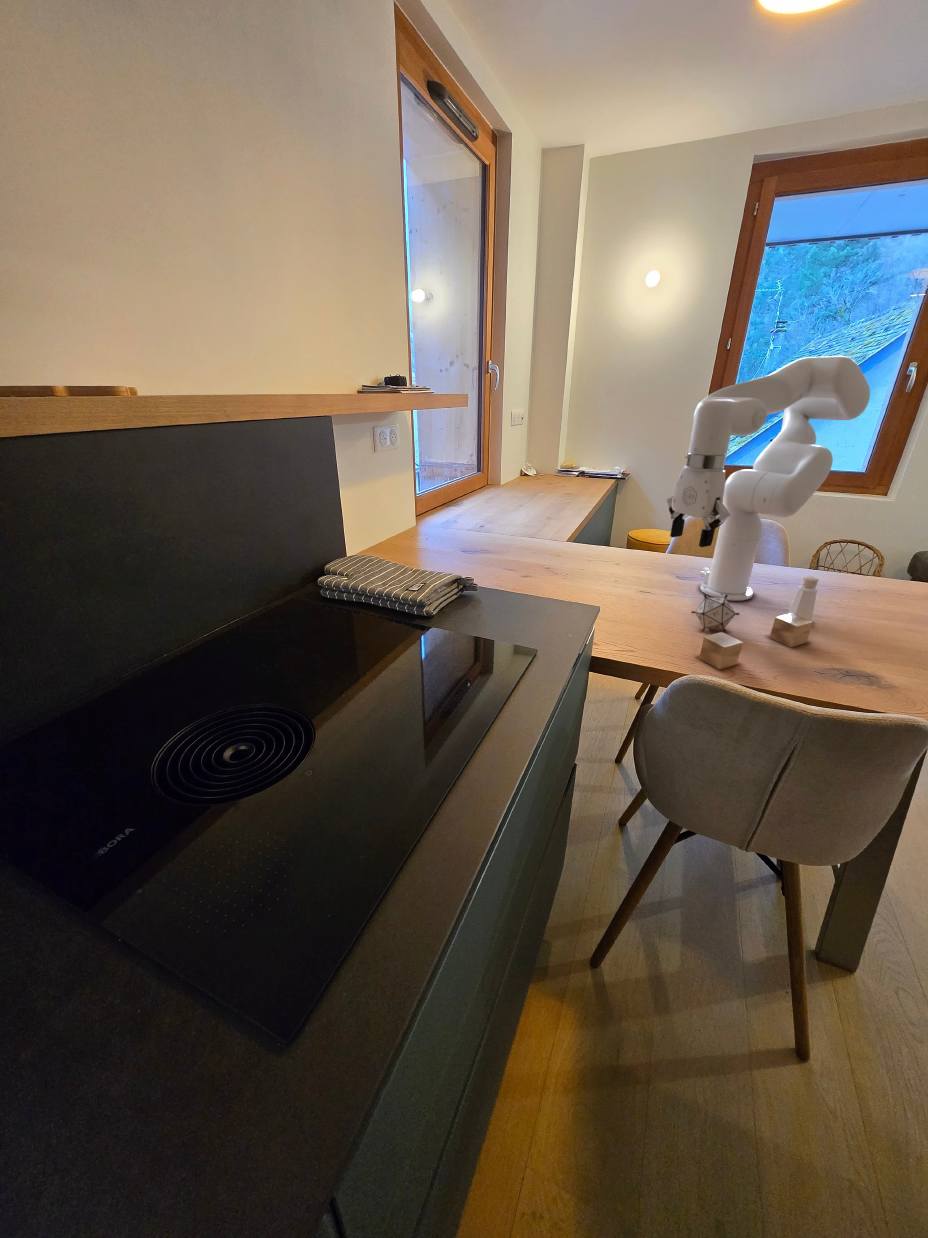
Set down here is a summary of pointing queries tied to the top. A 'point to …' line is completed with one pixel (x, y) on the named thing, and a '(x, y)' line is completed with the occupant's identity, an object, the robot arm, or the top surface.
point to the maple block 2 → (791, 629)
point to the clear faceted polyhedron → (715, 613)
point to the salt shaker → (805, 598)
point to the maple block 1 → (720, 650)
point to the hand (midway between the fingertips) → (690, 540)
